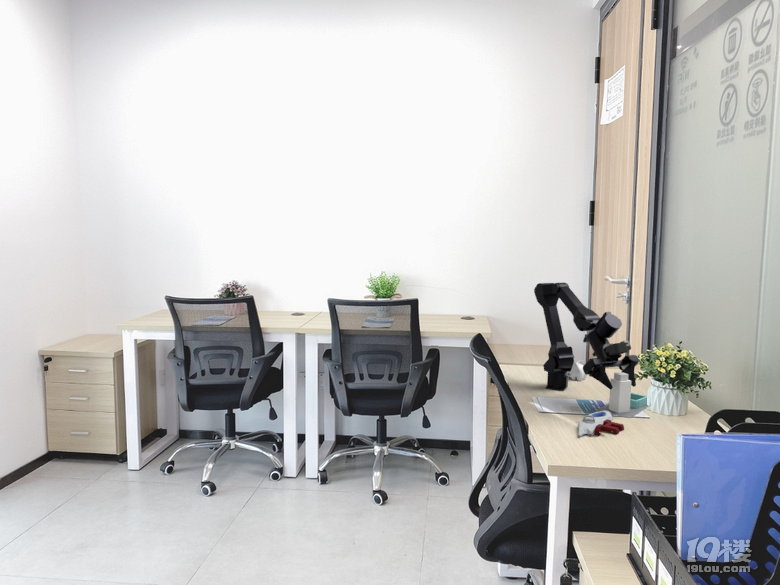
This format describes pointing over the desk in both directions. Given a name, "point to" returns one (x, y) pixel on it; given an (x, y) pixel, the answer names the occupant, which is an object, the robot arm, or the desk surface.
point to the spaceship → (592, 422)
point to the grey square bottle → (620, 393)
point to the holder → (637, 400)
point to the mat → (626, 414)
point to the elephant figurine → (577, 371)
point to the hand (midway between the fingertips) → (623, 387)
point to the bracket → (608, 427)
